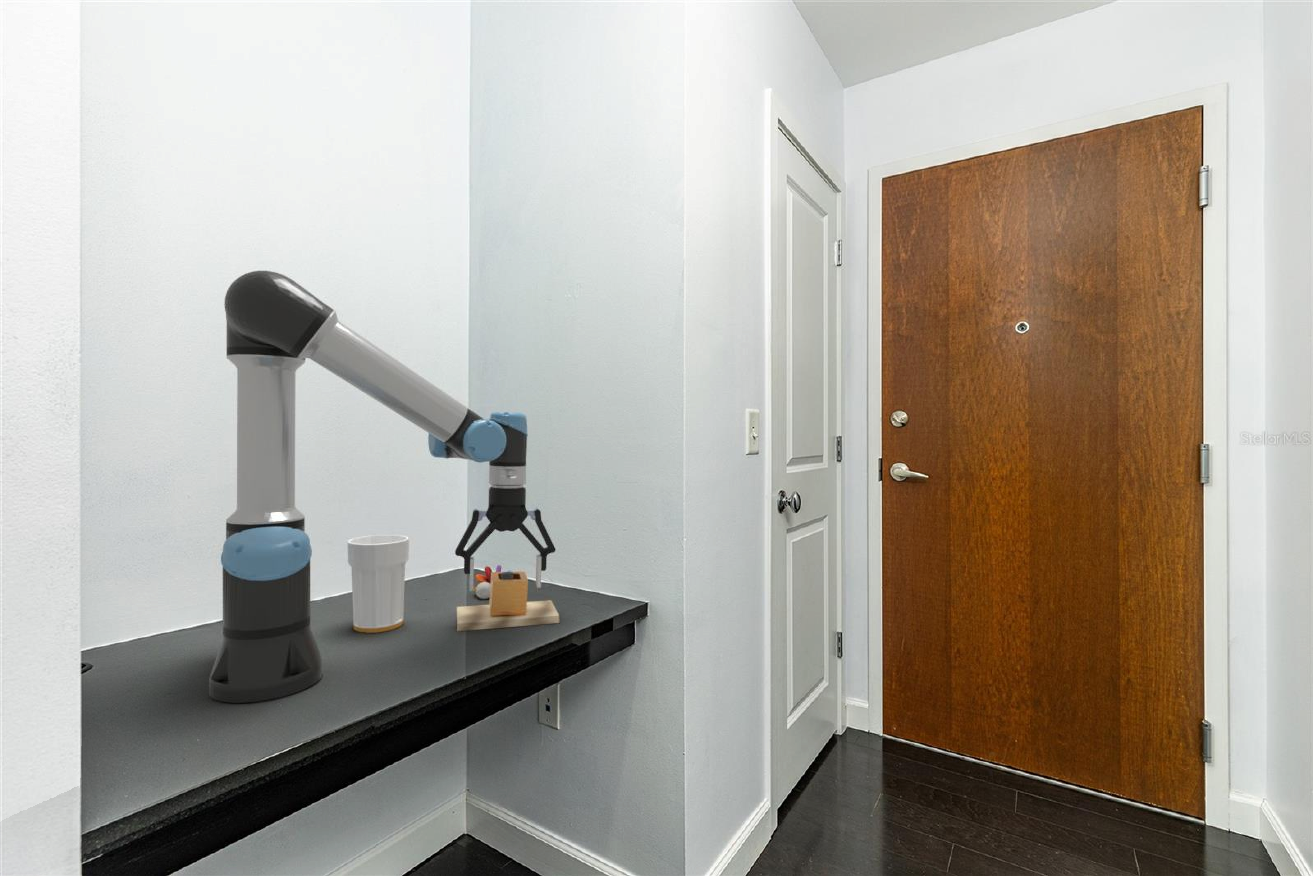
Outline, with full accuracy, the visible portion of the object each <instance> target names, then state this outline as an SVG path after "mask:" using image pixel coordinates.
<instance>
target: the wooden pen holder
mask: <svg viewBox="0 0 1313 876" xmlns="http://www.w3.org/2000/svg"><path fill="white" fill-rule="evenodd" d="M503 572H504V571H501V572H496V571H492V572H491V584H490V598H488V599H489V600H488V601H489V602H488V605H489V607H490V613H491V615H526V606H527V602H528V593H529V592H528V588H529V579H528V577H527V574H526V572H525V571H512V572H513V579H507V580H501V573H503Z"/></svg>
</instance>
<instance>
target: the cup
mask: <svg viewBox="0 0 1313 876" xmlns="http://www.w3.org/2000/svg"><path fill="white" fill-rule="evenodd" d="M409 550H410V538H409V536H408V535H407V536H406V535H404V534H403V535H402V534H374V535H373V534H372V535H364V536H363V535H362V536H358V537H353V538H351V539H348V540H347V562H348V565H349V566H350V567H351V587H352V588H351V589H352V592H351V593H352V616H353V617H352V618H353V619H352V621H353V630H354V631H355V632H358V633H364V632H365V633H366V634H367V633H369V634H371V633H372V634H373V633H382V632H387V631H391V630H392V631H393V630H395V629H397V628H399V627H401V626H402V625H404V608H405V607H404V606H405V605H404V604H405V580H406V579H405V574H406V564H407V562H408V560H409Z"/></svg>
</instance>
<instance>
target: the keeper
mask: <svg viewBox="0 0 1313 876" xmlns="http://www.w3.org/2000/svg"><path fill="white" fill-rule="evenodd" d="M502 572H503V573H501V580H507V579H513V572H514V571H512V572H508V571H502ZM559 623H560V614H559V613H558V610H557V609H556V607H555V605H554V603H553V601H552V600H551V599H548V600H534V601H533V600H532V601H527V606H526V615H491V613H490V607H489V604H479V605H469V606H468V605H467V606H466V605H465V606H456V632H466V631H467V632H468V631H476V630H477V631H478V630H489V629H490V630H491V629H501V628H513V627H514V628H515V627H516V628H517V627H525V626H528V627H529V626H537V625H538V626H539V625H551V624H559Z"/></svg>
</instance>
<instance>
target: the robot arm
mask: <svg viewBox="0 0 1313 876" xmlns="http://www.w3.org/2000/svg"><path fill="white" fill-rule="evenodd" d="M223 305H224V312H225V320H226V359H227V360H229V361H230V363H231V364H233V365H234V366H235V367H236V369H237V370H236V371H237V372H236V374H237V376H236V377H237V378H236V379H237V380H236V382H237V383H236V387H237V389H236V392H237V393H236V394H237V395H236V403H237V404H236V405H237V406H236V407H237V408H236V416H237V417H236V509H235V511H234V512H233V513H232V514H231V515H229V517H227V518H226V520H225V540H224V542H223V547H222V553H221V554H220V562H221V566H222V641H221V644H220V647H219V650H218V652H217V655H216V658H215V660H214V663H213V666H212V669H211V672H210V675H209V677H208V678H209V679H208V695H209V696H210V697H209V698H211V699H213V700H215V701H217V700H218V702H224V703H229V704H231V703H232V704H235V703H236V704H239V703H240V704H242V703H245V704H247V703H256V702H262V701H268V700H274V699H278V698H282V697H286V696H289V695H292V694H295V693H298V692H302V691H304V690H305V689H308V688H310V687H312V686H313V685H315V684H316V683H318V682H319V681H320V680H321V679H322V677H323V675H324V661H323V657H322V655H321V651H320V649H319V647H318V644H317V641H316V638H315V636H314V633H313V631H312V627H311V626H312V625H311V558H312V553H313V550H312V549H313V548H312V546H311V542H310V541H311V539H310V536H309V535H308V533H306V530H305V527H306V525H305V521H306V520H305V518H306V517H305V516H306V515H304V513H302V512H301V511H300V510H298V509H297V507H296V372H297V370H298V369H300V368H301V367H302V365H304V364H305V363H306V359H310V360H311V361H313V362H314V363H316V364H318V365H319V366H321V367H322V368H324V369H326V371H329V372H330V373H332V374H334V375H336V376H337V377H339V378H340V379H341V380H343V381H345V382H346V383H348V384H350V386H352V387H354V388H355V389H358V390H359V391H361V392H363V393H365V394H366V395H367V396H369V397H370V398H372V399H374V400H375V401H376V402H378V403H380V404H382V405H383V406H385V407H386V408H388V409H390V410H391V411H392V412H394V413H396V414H398V415H399V416H401V417H402V418H404V419H406V420H407V421H408V422H411V423H412V424H413V425H415V426H416V427H419V428H420V429H422V430H424V431H425V432H427V434H428V436H427V441H428V444H427V445H428V450H429V453H430V455H431V456H432V457H433V458H439V459H440V458H442V459H447V460H448V459H463V460H467V461H468V460H469V461H474V462H476V463H485V462H487V463H488V462H489V463H488V464H489V465H488V466H489V467H488V468H489V469H488V484H489V485H490V487H489V488H488V507H487V509H486V510H480V509H478V508H474V509H473V511H472V515H471V520H470V522H469V524H468V525H467V527H466V529H465V531H464V533H463V535H462V536H461V539H460V541H459V542H458V545H457V546H456V548H455V550H454V554H455V556H457V557H461V558H463V573H464V574H465V575H469V583H468V585H469V587H468V588H469V589H468V590H469V592H474V587H475V585H474V581H475V577H474V576H475V557H474V556H473V555H474V553H476V552H477V550H478V549H479V548H480V547H481V546H482V545H483V543H484V542H485V541H486V540H487V538H489V536H490V535H492V534H493V533H494V532H495V531H499V532H506V531H508V532H515V531H517V530H518V529H519V530H520V532H521V533H522V534H523V535H524V536H525V538H526V539H528V541H529V542H530V543H531V544H532V545H533V547H534V548H535V549H536V550H537V551H538V553H539V554H538V553H537V554H536V555H535V559H536V561H535V563H536V564H535V587H536V588H538V589H539V588H542V572H546V570H547V556H548V555H550V554H553V553H555V552H556V547H555V545H554V543H553V541H552V539H551V537H550V534H549V532H548V531H547V529H546V526H545V525H544V522H543V521H542V513H541V510H540V509H539V508H537V507H536V508H534V509H527V508H526V498H527V497H526V495H527V494H526V493H527V492H526V491H527V490H526V487H524V486H525V485H526V484H527V451H528V450H527V449H528V448H527V446H528V423H527V422H528V421H527V416H526V415H525V413H523V412H515V411H514V412H509V411H493V412H492V413H490V415H489V416H490V418H489V419H487V418H483V417H482V416H480V415H479V414H477V413H476V412H475V411H473V410H471V409H469V407H468V408H467V406H465V405H464V404H462V403H461V402H459V400H457V399H455V398H454V397H452V396H451V395H449V393H446V392H445V391H443V390H442V389H440V388H439V387H437V386H436V385H434V384H433V383H431V382H430V381H429V380H427V379H426V378H424V377H423V376H421V375H419V374H418V373H417V372H415V371H414V370H412V369H411V368H409V367H408V366H406V365H405V364H403V363H402V362H400V361H399V360H397V359H395V358H394V357H393V356H392V355H390V354H388V353H387V352H385V351H384V350H383V349H381V348H380V347H378V346H377V345H375V344H373V343H372V342H370V341H369V340H367V339H366V338H364V337H363V336H362V335H360V334H359V333H357V332H356V331H354V330H353V329H352V328H350V327H348V326H347V325H345V324H344V323H342V322H341V321H340V320H339V319H338V315H337V311H336V310H335V309H333V308H331V307H330V306H329V305H327V304H326V303H324V302H323V301H322V300H320V299H319V298H318V297H316V296H315V295H314V294H312V293H311V292H310V291H308V290H307V289H306V288H304V287H303V286H302V285H300V284H299V283H297V282H296V281H295V280H294V279H292V278H290V277H288V276H287V275H285V274H281V273H278V272H276V271H271V270H253V271H250V272H247V273H244V274H243V275H240V276H238V277H237V278H236V279H235V280H233V281H232V283H230V286H229V287H228V288H227V291H226V293H225V297H224V304H223ZM528 516H529V517H530V519H531V520H532V521H534V522H535V524H536V527H537V528H538V530H539V533H540V534H541V537H542V539H543V540H544V543H545V544H546V547H544V546H543V545H542V544H541V543H540V542H539V540H537V538H536V537H535V536H534V534H532V532H531V531H530V530H529V529H528V528H527V526H525V524H524V521H525V520H526V519H527V517H528ZM484 517H485V518H486V519H487V520H488V522H489V523H488V524H487V526H486V527H485V528H484V530H483V531H481V533H480V534H479V536H478V537H477V538H476V539H475V540H474V541H473V542H472V543H471V544H470V545H469V547H468V548H467V549H465V548H466V547H467V544H468V542H469V540H470V539H471V537H472V535H473V533H474V532H475V529H476V527H477V525H478V523H479V522H480V521H482V520H483V518H484Z"/></svg>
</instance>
